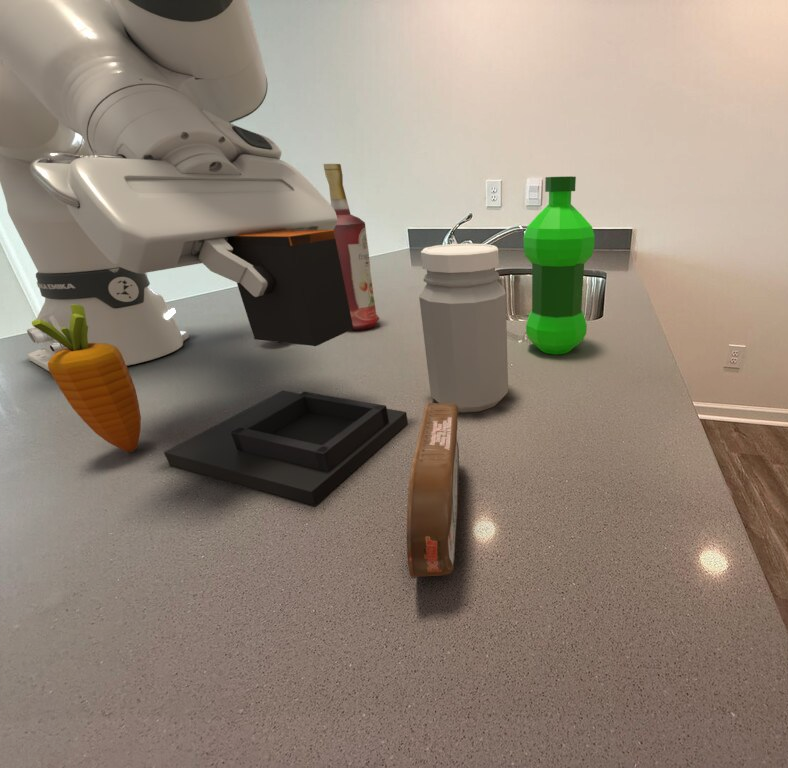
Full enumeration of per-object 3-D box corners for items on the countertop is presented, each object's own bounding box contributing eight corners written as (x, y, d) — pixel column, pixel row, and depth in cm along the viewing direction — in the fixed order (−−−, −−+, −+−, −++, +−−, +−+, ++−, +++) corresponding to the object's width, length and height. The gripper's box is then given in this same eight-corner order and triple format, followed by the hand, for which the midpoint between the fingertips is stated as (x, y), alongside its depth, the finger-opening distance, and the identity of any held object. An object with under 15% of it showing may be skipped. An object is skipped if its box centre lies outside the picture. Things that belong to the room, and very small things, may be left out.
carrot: (110, 471, 39) (26, 318, 32) (92, 456, 41) (10, 311, 35) (171, 446, 42) (106, 304, 36) (151, 433, 45) (87, 298, 38)
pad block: (254, 339, 37) (221, 235, 33) (296, 323, 41) (271, 229, 37) (316, 346, 35) (289, 235, 31) (353, 329, 39) (334, 229, 35)
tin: (432, 463, 39) (422, 384, 35) (465, 461, 39) (459, 382, 35) (410, 609, 25) (390, 505, 22) (461, 605, 25) (450, 500, 22)
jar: (425, 387, 54) (408, 245, 46) (495, 376, 57) (489, 240, 49) (439, 423, 46) (420, 257, 38) (520, 407, 49) (518, 250, 41)
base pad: (169, 465, 39) (154, 434, 38) (285, 400, 51) (278, 375, 50) (315, 505, 34) (305, 471, 32) (408, 423, 46) (403, 395, 44)
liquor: (374, 332, 76) (345, 162, 64) (336, 333, 76) (299, 163, 64) (386, 321, 83) (361, 164, 70) (350, 321, 83) (320, 166, 71)
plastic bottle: (548, 365, 60) (553, 175, 49) (512, 345, 68) (509, 178, 57) (600, 352, 64) (614, 175, 54) (560, 334, 73) (566, 178, 62)
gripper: (10, 107, 24) (190, 281, 25) (284, 140, 41) (382, 242, 43) (8, 192, 27) (167, 342, 29) (263, 189, 45) (354, 283, 46)
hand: (297, 282), depth 36 cm, fingers closed on pad block, 5 cm apart
